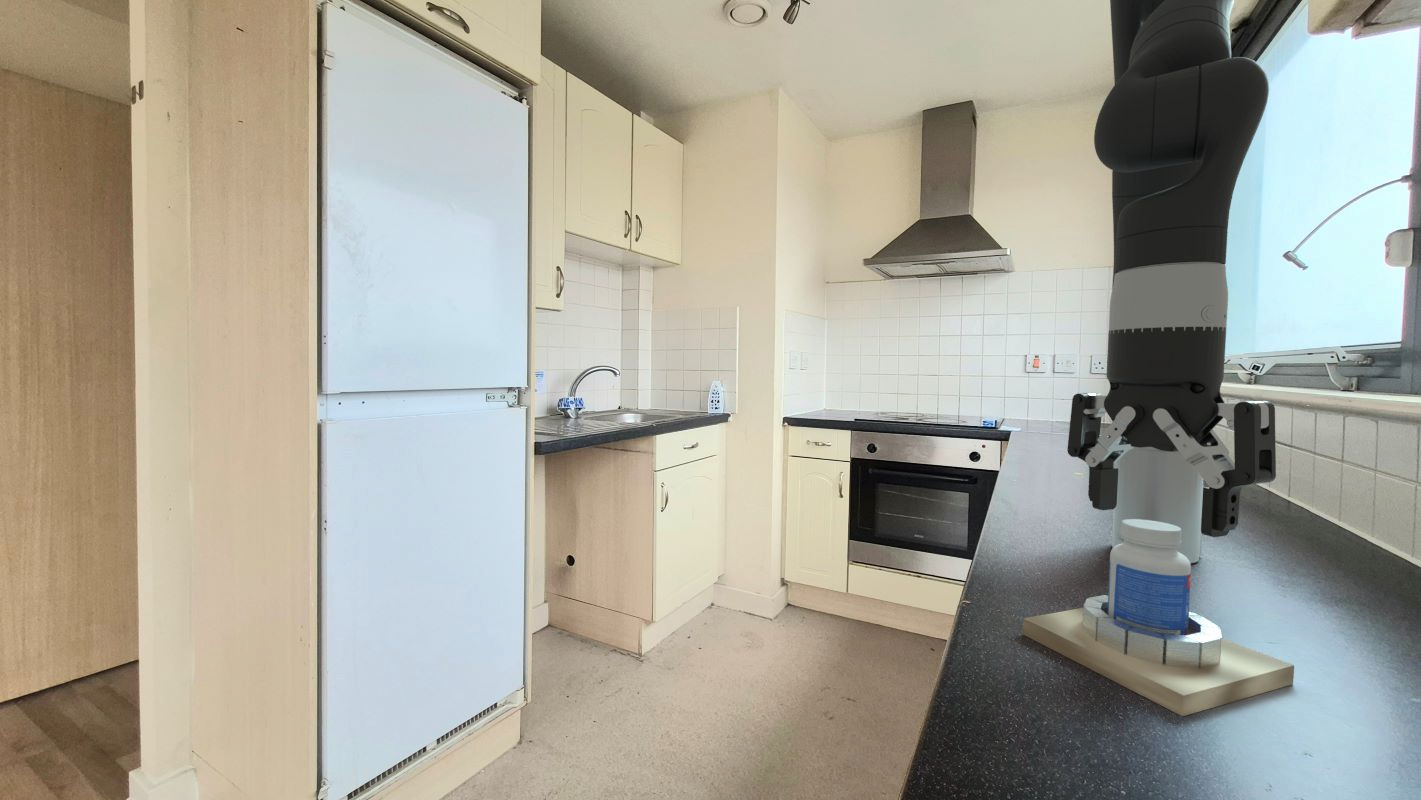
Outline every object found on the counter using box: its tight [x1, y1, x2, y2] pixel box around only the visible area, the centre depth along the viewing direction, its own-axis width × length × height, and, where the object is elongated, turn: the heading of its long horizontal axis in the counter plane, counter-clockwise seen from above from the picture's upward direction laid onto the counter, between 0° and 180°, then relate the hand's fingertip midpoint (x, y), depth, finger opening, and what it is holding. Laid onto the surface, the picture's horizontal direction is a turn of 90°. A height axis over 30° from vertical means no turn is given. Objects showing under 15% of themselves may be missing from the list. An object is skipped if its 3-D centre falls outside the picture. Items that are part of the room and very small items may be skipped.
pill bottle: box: [1107, 519, 1192, 635], centre depth 48 cm, size 6×5×10 cm
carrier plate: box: [1022, 607, 1295, 717], centre depth 48 cm, size 13×13×2 cm
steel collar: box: [1082, 594, 1222, 669], centre depth 48 cm, size 9×9×2 cm
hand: (1154, 520), depth 47 cm, fingers open, 8 cm apart
